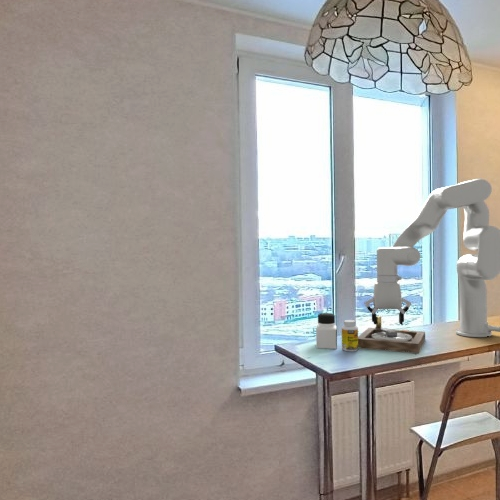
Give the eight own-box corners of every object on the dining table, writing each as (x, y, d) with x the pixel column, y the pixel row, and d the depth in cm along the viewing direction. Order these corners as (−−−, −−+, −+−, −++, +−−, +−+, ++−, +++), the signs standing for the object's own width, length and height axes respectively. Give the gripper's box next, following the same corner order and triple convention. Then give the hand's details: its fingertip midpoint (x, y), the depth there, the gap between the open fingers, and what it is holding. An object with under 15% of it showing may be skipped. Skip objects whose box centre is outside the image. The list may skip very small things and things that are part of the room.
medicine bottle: (336, 349, 154) (336, 315, 154) (316, 348, 155) (315, 315, 155) (337, 344, 161) (336, 311, 161) (317, 343, 162) (316, 311, 162)
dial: (420, 342, 155) (419, 322, 155) (385, 346, 151) (384, 325, 151) (393, 333, 171) (393, 315, 171) (361, 336, 167) (360, 317, 167)
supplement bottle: (346, 352, 149) (346, 322, 149) (339, 348, 154) (338, 320, 154) (361, 351, 150) (360, 321, 150) (353, 347, 156) (352, 318, 155)
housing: (425, 340, 164) (425, 331, 164) (418, 353, 146) (418, 343, 146) (368, 335, 174) (368, 327, 174) (355, 347, 155) (355, 338, 155)
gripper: (408, 278, 170) (409, 322, 170) (362, 278, 172) (363, 321, 173) (412, 280, 162) (413, 325, 163) (365, 280, 165) (365, 325, 165)
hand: (387, 323), depth 168 cm, fingers open, 9 cm apart
